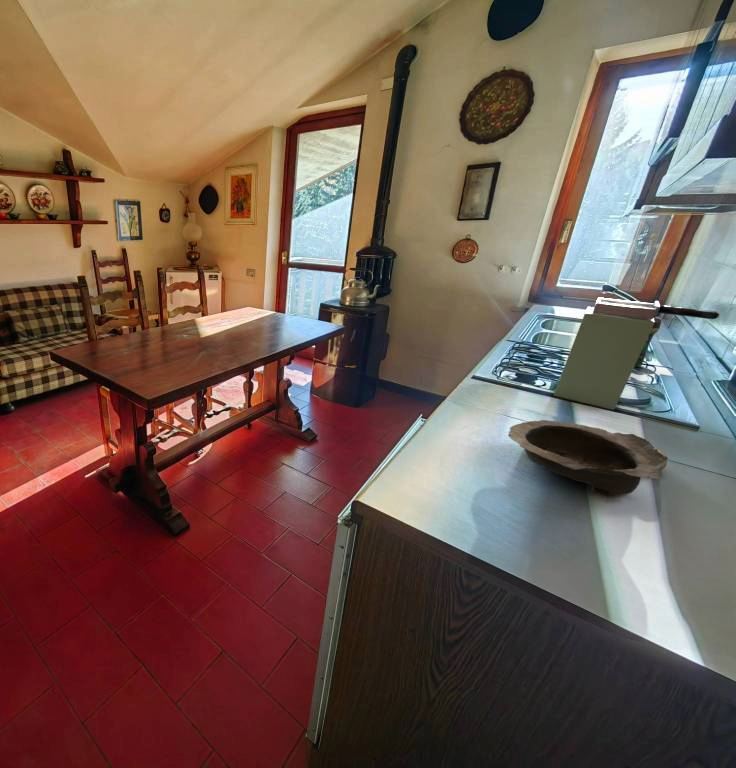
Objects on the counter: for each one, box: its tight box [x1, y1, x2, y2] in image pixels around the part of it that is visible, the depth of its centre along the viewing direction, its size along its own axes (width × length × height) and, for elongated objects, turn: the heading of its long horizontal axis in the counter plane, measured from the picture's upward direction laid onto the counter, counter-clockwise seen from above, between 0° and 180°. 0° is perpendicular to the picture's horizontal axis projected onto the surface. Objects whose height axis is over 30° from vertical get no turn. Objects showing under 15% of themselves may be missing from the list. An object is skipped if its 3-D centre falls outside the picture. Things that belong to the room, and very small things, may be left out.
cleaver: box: [593, 297, 720, 320], centre depth 105 cm, size 23×10×4 cm, turn 46°
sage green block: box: [552, 306, 655, 411], centre depth 115 cm, size 14×12×26 cm
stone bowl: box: [507, 419, 669, 498], centre depth 83 cm, size 25×25×9 cm
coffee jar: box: [634, 316, 662, 368], centre depth 145 cm, size 10×8×19 cm
